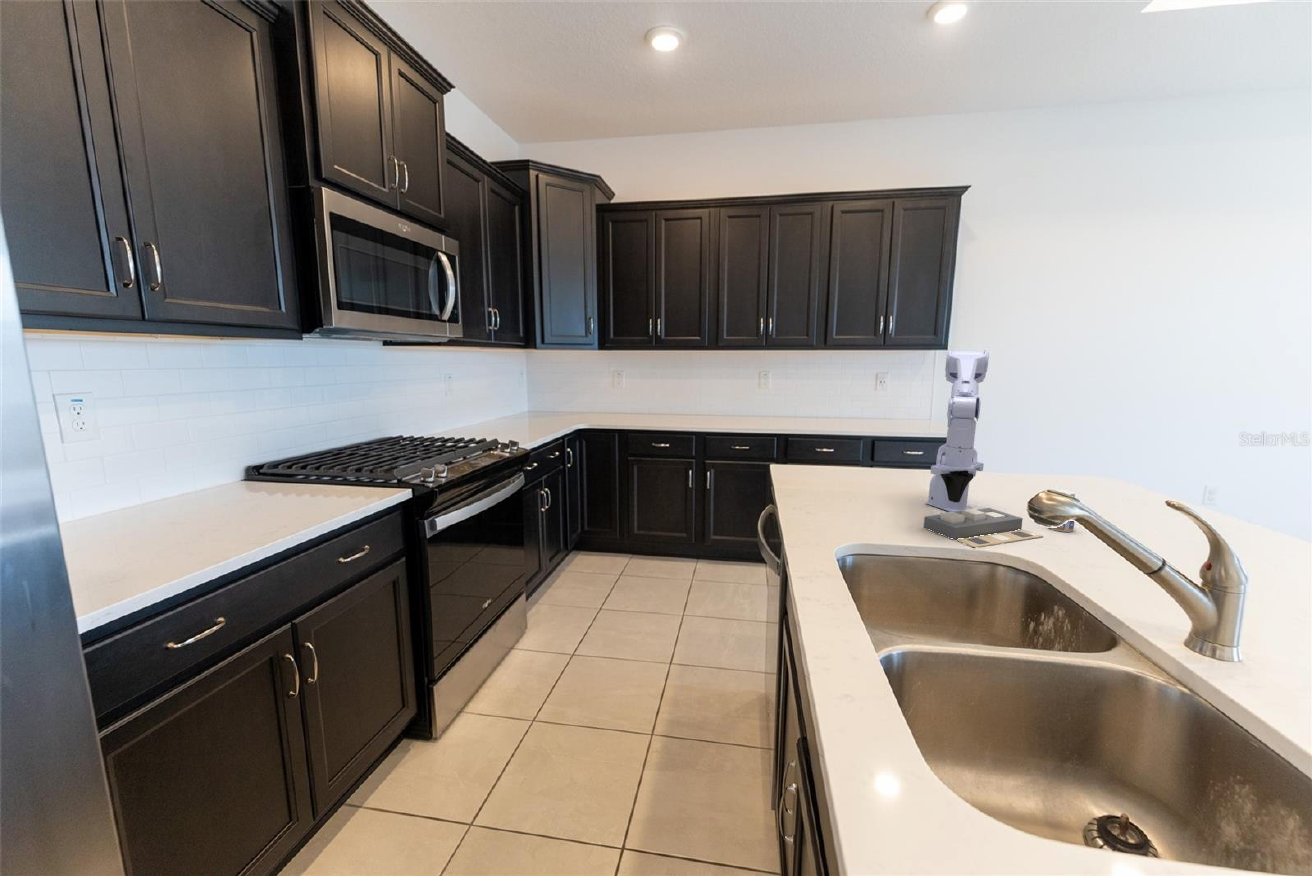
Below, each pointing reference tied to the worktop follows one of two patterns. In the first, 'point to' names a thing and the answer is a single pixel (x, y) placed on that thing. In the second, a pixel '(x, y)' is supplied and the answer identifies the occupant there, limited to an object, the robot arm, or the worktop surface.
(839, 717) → the worktop surface
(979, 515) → the button middle
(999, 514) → the button end far
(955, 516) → the button end near
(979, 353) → the robot arm
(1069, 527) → the pill bottle
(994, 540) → the pattern card
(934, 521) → the button board
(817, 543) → the worktop surface
